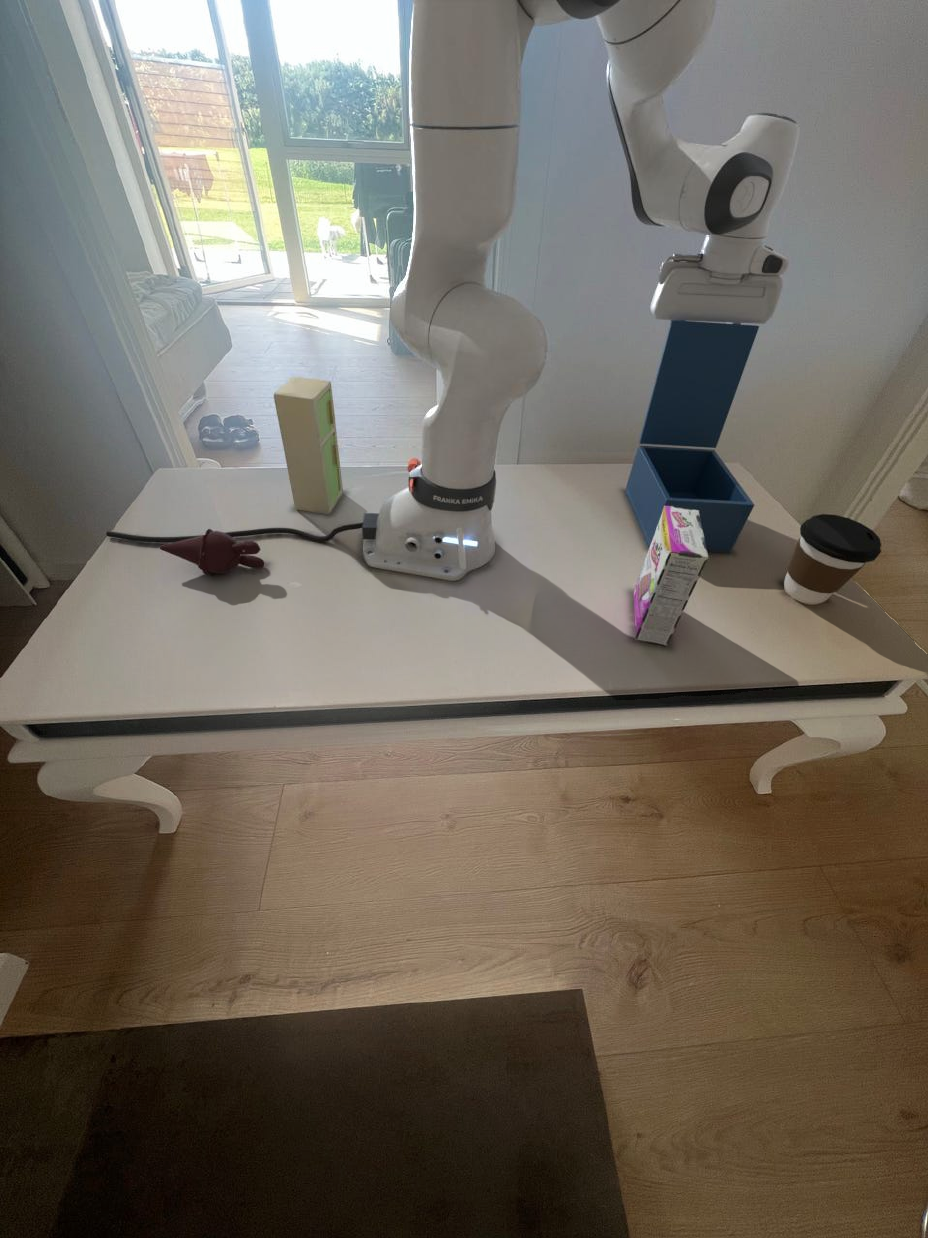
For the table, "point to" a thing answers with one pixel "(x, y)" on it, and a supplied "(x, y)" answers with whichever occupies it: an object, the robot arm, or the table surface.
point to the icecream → (216, 552)
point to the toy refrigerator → (310, 443)
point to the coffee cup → (828, 557)
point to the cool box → (688, 492)
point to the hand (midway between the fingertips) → (698, 347)
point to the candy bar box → (669, 574)
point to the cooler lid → (696, 382)
